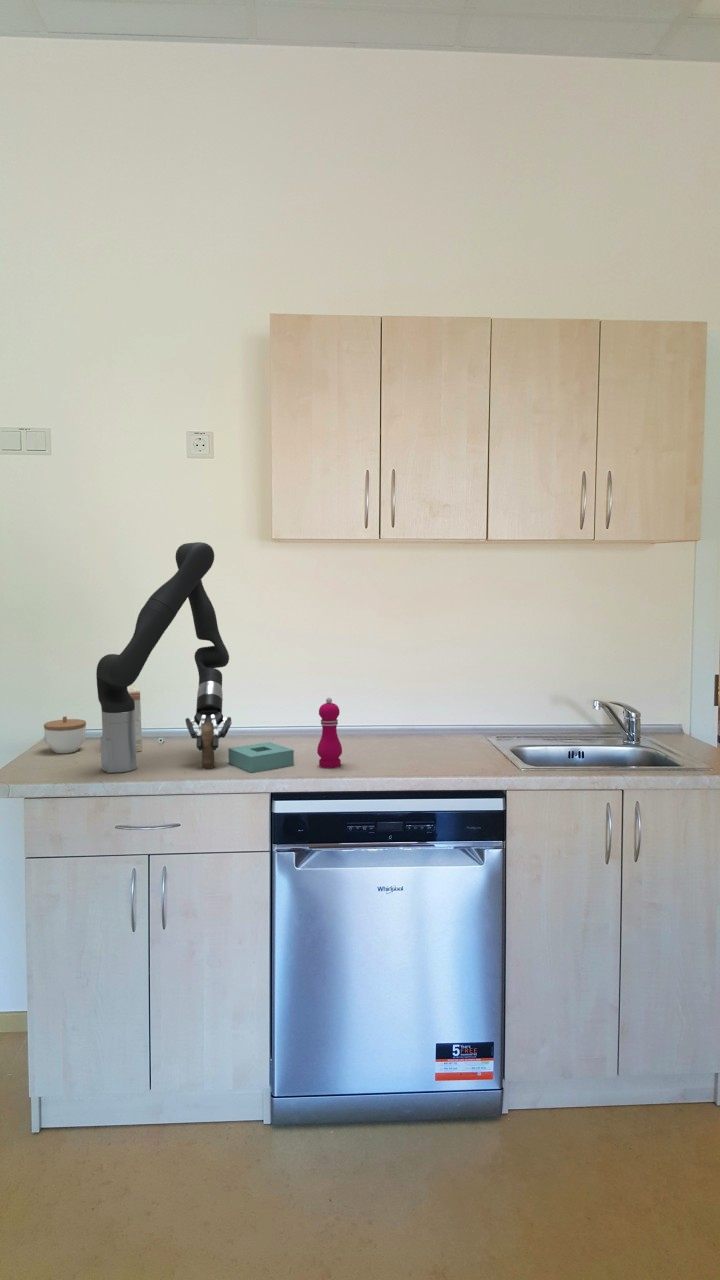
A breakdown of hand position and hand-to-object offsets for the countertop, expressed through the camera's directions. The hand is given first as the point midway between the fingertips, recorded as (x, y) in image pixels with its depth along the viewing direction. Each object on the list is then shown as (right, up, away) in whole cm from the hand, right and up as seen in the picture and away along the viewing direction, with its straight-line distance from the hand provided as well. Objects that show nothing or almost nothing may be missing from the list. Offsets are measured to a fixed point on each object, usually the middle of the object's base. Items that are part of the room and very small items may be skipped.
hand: (207, 748), depth 233 cm
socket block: (+15, -5, +6) cm, 17 cm away
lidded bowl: (-50, -4, +26) cm, 57 cm away
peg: (0, -6, +2) cm, 6 cm away
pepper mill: (+35, -6, +3) cm, 36 cm away
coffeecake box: (-31, -4, +30) cm, 43 cm away
